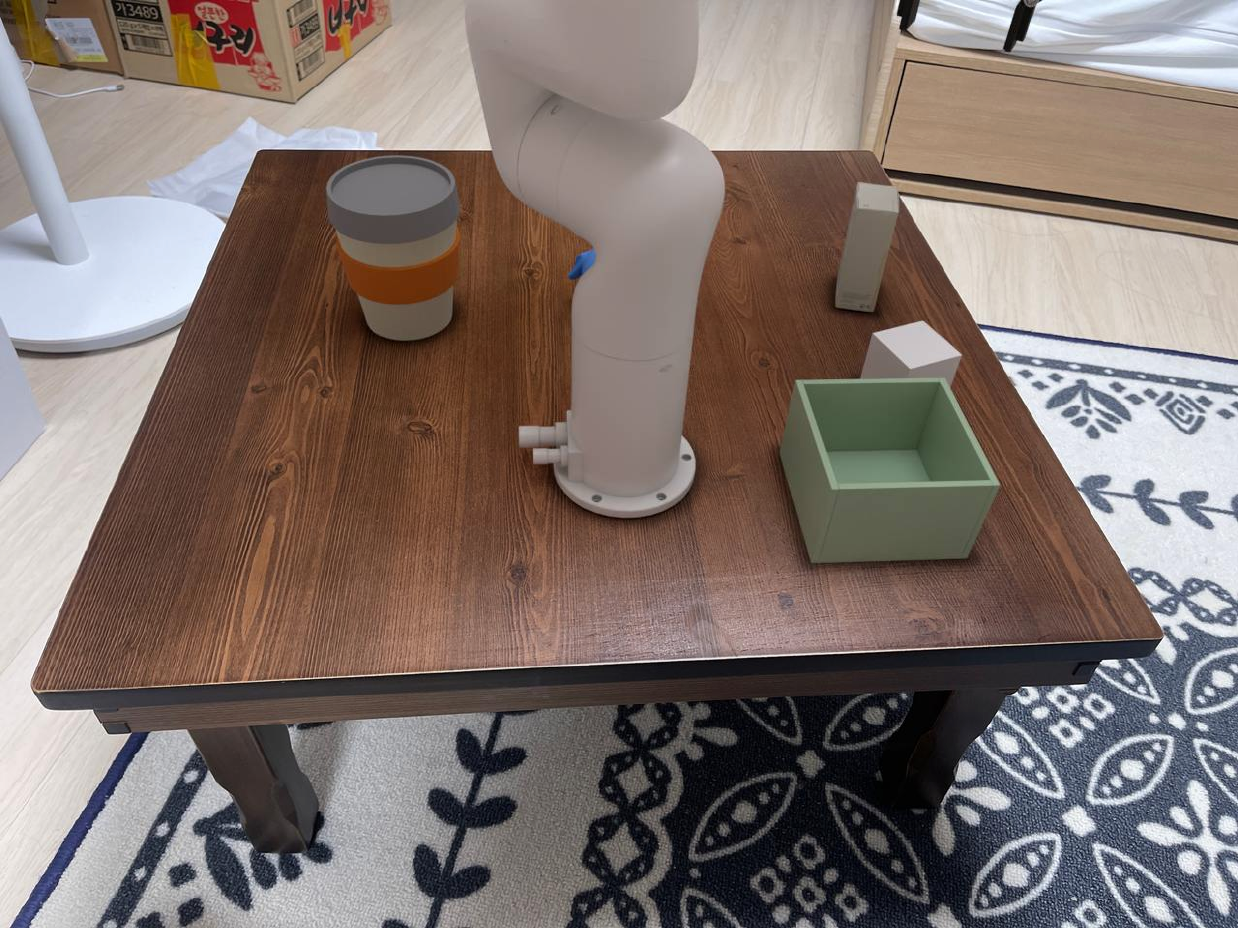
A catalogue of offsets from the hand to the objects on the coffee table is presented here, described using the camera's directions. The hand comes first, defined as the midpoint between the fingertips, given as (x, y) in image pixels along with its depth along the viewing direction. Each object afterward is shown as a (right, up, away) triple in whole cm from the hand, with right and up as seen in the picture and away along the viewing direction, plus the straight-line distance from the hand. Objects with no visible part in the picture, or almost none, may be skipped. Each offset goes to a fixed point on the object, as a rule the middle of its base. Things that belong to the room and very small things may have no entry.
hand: (957, 36), depth 87 cm
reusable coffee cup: (-54, -24, +12) cm, 60 cm away
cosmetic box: (-5, -21, +18) cm, 28 cm away
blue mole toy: (-31, -22, +15) cm, 41 cm away
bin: (-10, -43, -6) cm, 45 cm away
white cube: (-4, -33, +6) cm, 34 cm away
